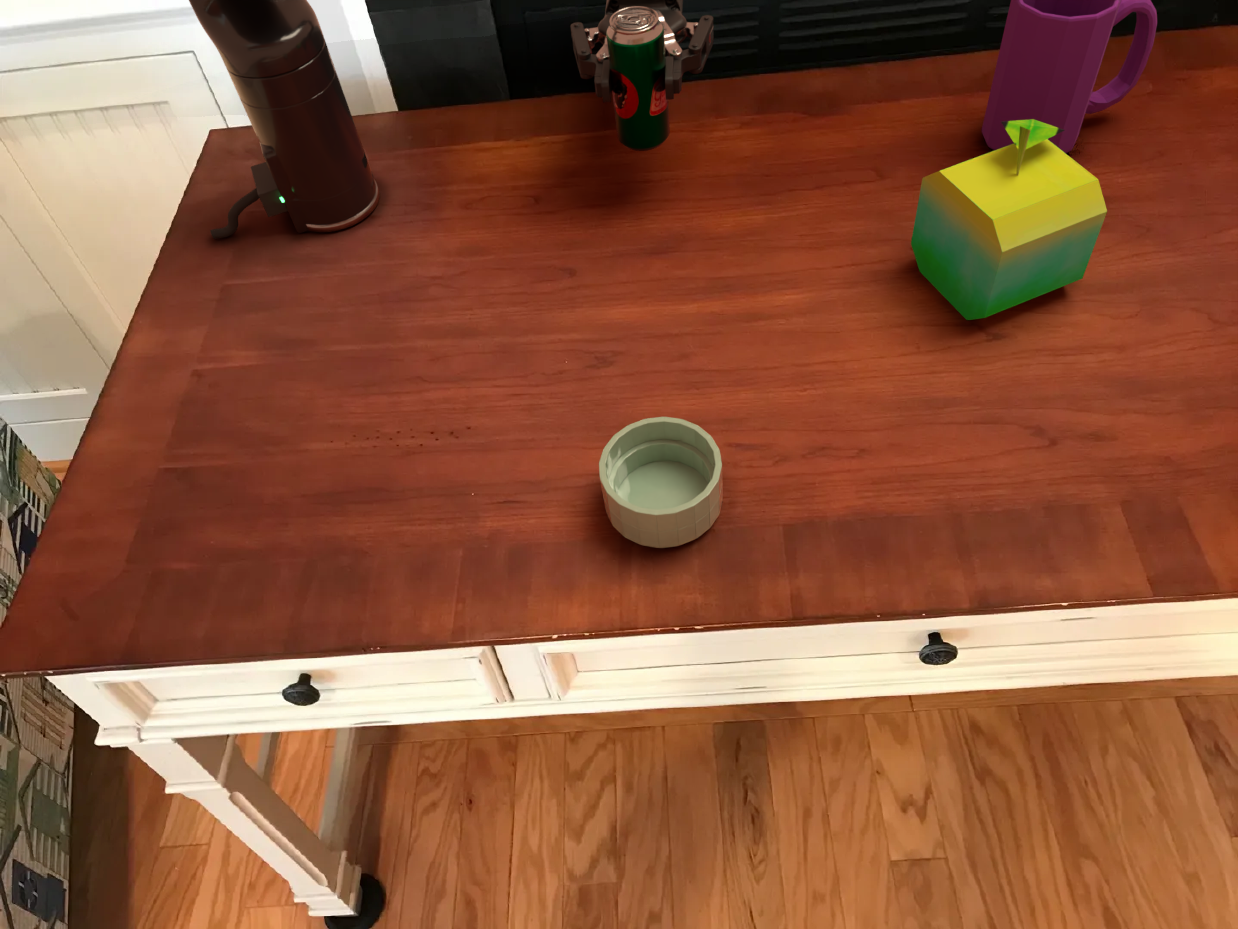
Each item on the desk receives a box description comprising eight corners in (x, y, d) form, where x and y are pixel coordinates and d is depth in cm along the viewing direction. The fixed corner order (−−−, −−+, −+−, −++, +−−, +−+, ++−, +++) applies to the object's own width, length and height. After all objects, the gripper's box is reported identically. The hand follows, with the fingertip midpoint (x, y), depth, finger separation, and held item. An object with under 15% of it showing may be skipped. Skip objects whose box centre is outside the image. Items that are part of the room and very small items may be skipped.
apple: (1076, 294, 85) (1131, 145, 73) (979, 333, 83) (1020, 187, 72) (999, 224, 91) (1038, 76, 80) (907, 259, 90) (933, 114, 78)
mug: (963, 124, 101) (993, -20, 89) (1098, 87, 103) (1146, -60, 91) (1010, 175, 96) (1049, 28, 84) (1153, 135, 97) (1211, -15, 85)
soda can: (665, 155, 93) (657, 34, 83) (613, 153, 94) (599, 33, 84) (673, 123, 96) (667, 3, 86) (622, 121, 96) (610, 2, 87)
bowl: (632, 569, 73) (626, 532, 69) (589, 480, 78) (581, 441, 74) (742, 525, 74) (742, 487, 70) (693, 441, 79) (690, 401, 75)
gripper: (569, -39, 96) (552, 57, 85) (717, -49, 94) (717, 48, 84) (578, 34, 102) (563, 132, 91) (717, 26, 100) (718, 125, 90)
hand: (637, 91), depth 88 cm, fingers closed on soda can, 5 cm apart
